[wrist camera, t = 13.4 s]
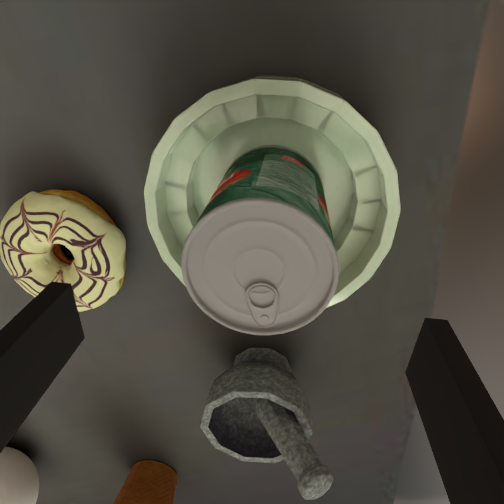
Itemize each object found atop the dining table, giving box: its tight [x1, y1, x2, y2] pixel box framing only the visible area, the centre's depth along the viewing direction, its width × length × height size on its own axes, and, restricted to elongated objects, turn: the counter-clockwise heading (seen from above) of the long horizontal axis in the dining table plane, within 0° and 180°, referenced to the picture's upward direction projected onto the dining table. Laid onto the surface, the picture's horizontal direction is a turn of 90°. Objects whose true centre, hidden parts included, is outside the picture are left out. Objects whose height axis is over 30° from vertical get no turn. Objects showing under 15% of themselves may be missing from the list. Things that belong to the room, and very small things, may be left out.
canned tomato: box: [181, 145, 339, 335], centre depth 23 cm, size 8×8×11 cm
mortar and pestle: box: [200, 348, 333, 500], centre depth 32 cm, size 11×9×12 cm
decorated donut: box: [0, 189, 126, 311], centre depth 31 cm, size 10×11×4 cm
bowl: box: [144, 75, 401, 308], centre depth 26 cm, size 17×17×5 cm
